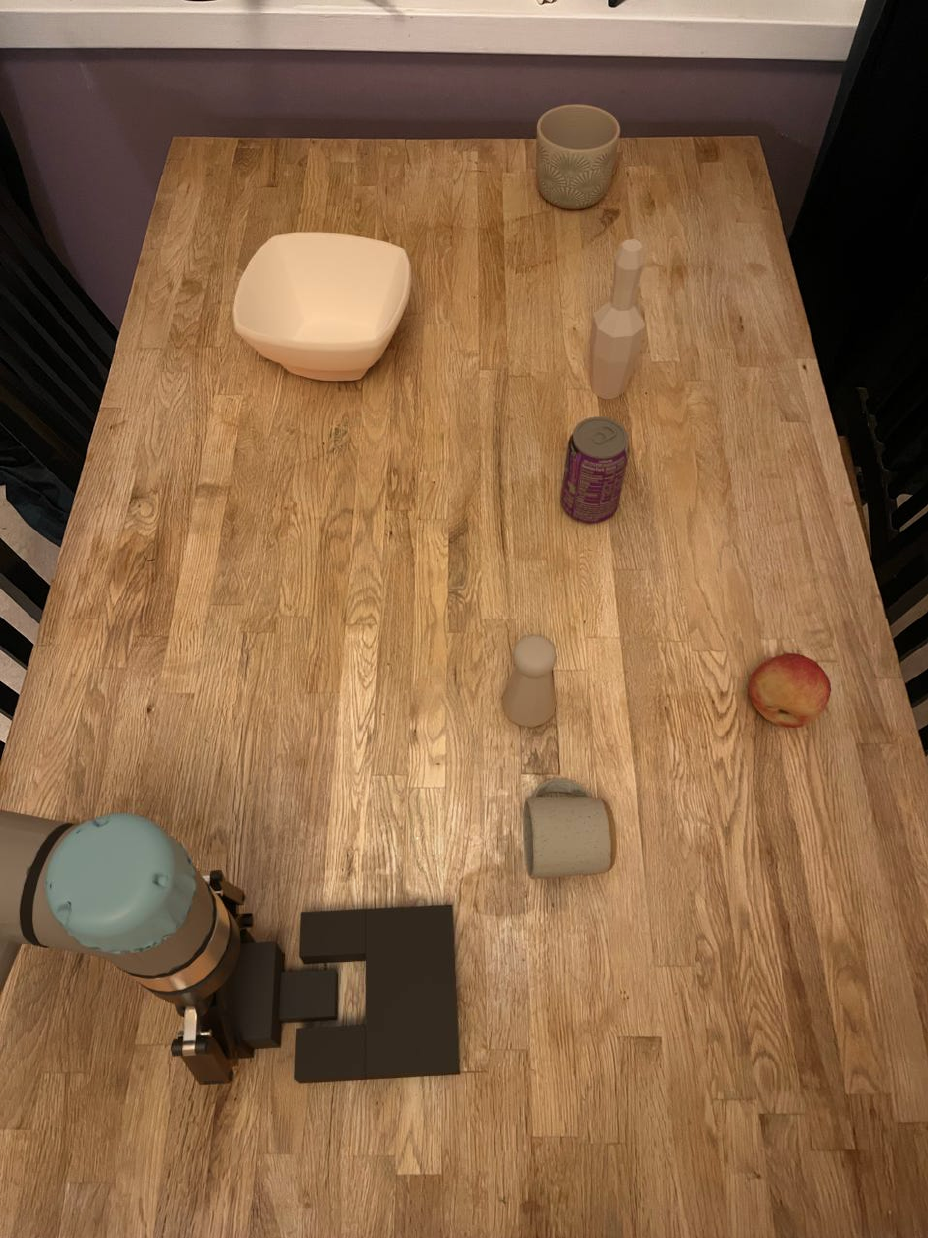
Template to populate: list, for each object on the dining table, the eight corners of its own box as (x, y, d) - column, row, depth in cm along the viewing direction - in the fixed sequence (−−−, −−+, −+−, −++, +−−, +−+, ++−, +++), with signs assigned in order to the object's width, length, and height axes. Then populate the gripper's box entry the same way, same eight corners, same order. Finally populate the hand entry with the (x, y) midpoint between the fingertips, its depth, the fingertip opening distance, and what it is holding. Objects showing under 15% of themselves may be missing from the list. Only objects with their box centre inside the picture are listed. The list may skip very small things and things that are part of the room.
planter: (573, 161, 156) (579, 94, 147) (627, 196, 151) (637, 129, 142) (516, 190, 152) (519, 123, 143) (570, 227, 147) (577, 160, 138)
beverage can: (589, 473, 120) (601, 404, 110) (629, 507, 117) (645, 439, 107) (548, 501, 118) (555, 433, 108) (587, 536, 115) (599, 469, 105)
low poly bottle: (575, 379, 129) (593, 237, 111) (615, 364, 131) (640, 222, 112) (599, 409, 126) (623, 269, 108) (640, 394, 128) (670, 252, 109)
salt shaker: (545, 742, 100) (555, 683, 90) (493, 726, 101) (497, 666, 91) (560, 696, 103) (572, 633, 92) (510, 681, 104) (515, 617, 93)
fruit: (727, 703, 103) (746, 667, 96) (774, 663, 106) (795, 625, 99) (783, 754, 100) (807, 720, 93) (830, 712, 102) (856, 675, 96)
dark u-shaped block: (299, 1084, 83) (294, 1079, 81) (305, 921, 91) (300, 912, 88) (459, 1074, 83) (459, 1070, 81) (452, 913, 91) (452, 904, 88)
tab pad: (201, 1052, 84) (187, 1043, 80) (209, 958, 89) (196, 945, 85) (337, 1044, 85) (330, 1035, 81) (338, 951, 89) (332, 938, 85)
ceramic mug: (612, 883, 92) (623, 856, 86) (528, 890, 92) (533, 863, 86) (595, 782, 98) (604, 749, 92) (516, 788, 98) (519, 755, 91)
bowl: (396, 423, 125) (390, 354, 115) (232, 403, 127) (213, 334, 117) (426, 310, 137) (423, 240, 127) (276, 294, 139) (262, 223, 129)
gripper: (142, 800, 73) (210, 889, 92) (101, 1105, 62) (188, 1134, 81) (241, 795, 73) (288, 885, 92) (217, 1099, 62) (277, 1129, 81)
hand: (241, 1001), depth 87 cm, fingers closed on tab pad, 8 cm apart
